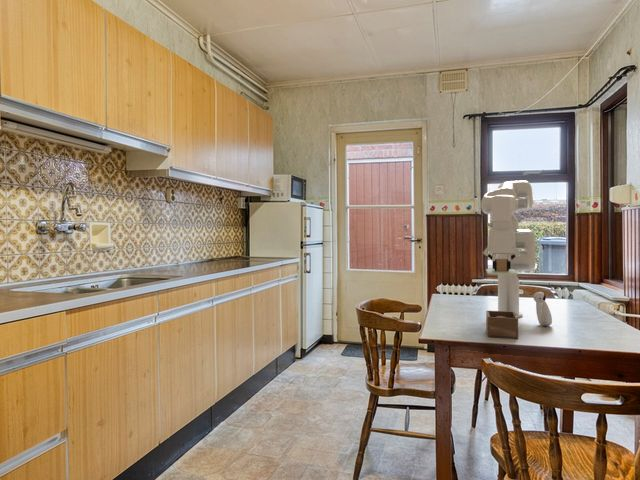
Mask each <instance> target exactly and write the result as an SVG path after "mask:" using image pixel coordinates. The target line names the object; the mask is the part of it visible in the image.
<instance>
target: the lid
mask: <svg viewBox="0 0 640 480" xmlns="http://www.w3.org/2000/svg"><path fill="white" fill-rule="evenodd" d="M495 259H496V262H497V271H494V269H493V268H486V269H485V271H486V274H487V275H488V276H489V275H491V276H498V275H516V276H519V273H518V272H517V271H515V270H514V269H509V271H507V259H506V258H495Z"/></svg>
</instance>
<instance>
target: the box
mask: <svg viewBox="0 0 640 480" xmlns="http://www.w3.org/2000/svg"><path fill="white" fill-rule="evenodd" d="M485 312H486V313H485V315H486V318H485V319H486V322H485V323H486V324H485V325H486V335H487V337H488V338H495V339H496V338H497V339H509V340H511V339H512V340H519V317H517V316H516V314H515V312H507V311H498V310H486V311H485Z"/></svg>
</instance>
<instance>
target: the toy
mask: <svg viewBox="0 0 640 480" xmlns="http://www.w3.org/2000/svg"><path fill="white" fill-rule="evenodd" d="M546 299H547V297H546V294H545V293H544V292H543V291H537V292H535V293H534V294H533V300H534V302H535V303H536V304H535V309H536V310H535V311H536V317H537V321H538V323H539V325H540V326H543V327H548V326H551V325H552V323H553V316H552V312H551V310H550V308H549V305H548V304H547V302H546Z"/></svg>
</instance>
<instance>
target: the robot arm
mask: <svg viewBox="0 0 640 480" xmlns="http://www.w3.org/2000/svg"><path fill="white" fill-rule="evenodd" d="M533 199H534V198H533V188H532V185H531V183H530V182H529V181H528V180H510V181H504V182H502V183H500V184H499V185H498V188H496V189H494V190H492V191H488V192H486V193H484V195H483V197H482V198H481V203H480V208H481V211H482V213H484V214H485V215H490V216H491V217H490V218H491V219H490V220H491V222H488V223H487V227H489V228H490V229H489V231H488V239H487V246H486V248H485V249H484V250H483V252H482V254H483V255H484V256H487V257H488V258H489V259H490V260H491V261H492V269H494V271H497V262H496V258H506V259H507V271H509V269H514V270H515V271H516V272H517V271H518V272H532V271H534V269H535V268H536V264H537V263H536V259H537V258H536V256H537V255H536V235H535V232H534V231H533V230H531V229H519V218H518V217H517V216H516V215H515V214H514V213H515V212H516V211H529V210H531V208H532V207H533V204H534V200H533ZM521 250H522V251H521ZM523 250H524V251H523ZM491 254H492V255H491ZM497 309H498V310H497V311H507V312H515V314H516V316H517V317H518V318H521V317H523V313H522V312H520V279H519V277H518V275H497Z"/></svg>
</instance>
